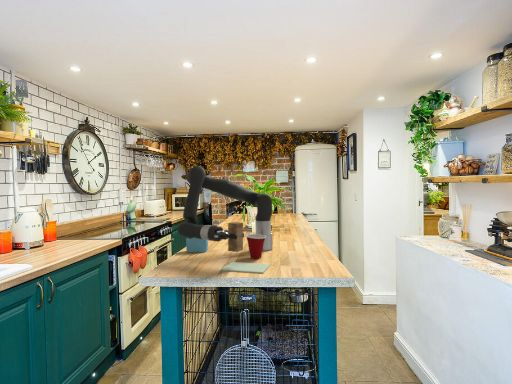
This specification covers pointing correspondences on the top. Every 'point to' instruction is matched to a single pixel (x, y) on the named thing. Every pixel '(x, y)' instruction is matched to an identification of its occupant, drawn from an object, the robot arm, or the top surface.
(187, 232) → the robot arm
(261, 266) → the mat
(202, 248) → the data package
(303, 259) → the top surface
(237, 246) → the walnut block
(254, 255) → the plastic cup
